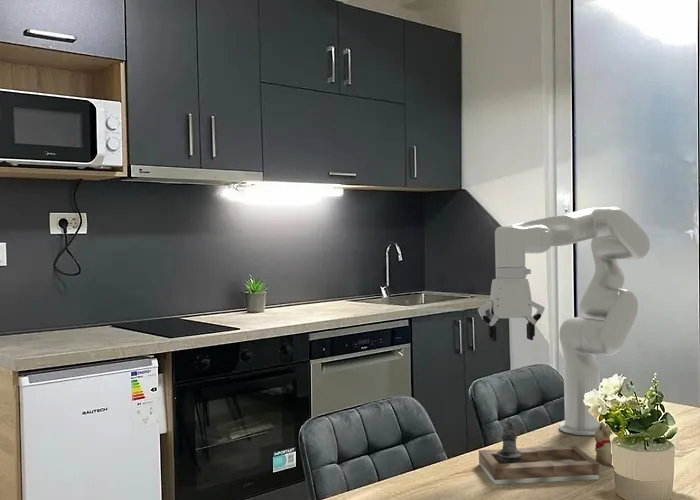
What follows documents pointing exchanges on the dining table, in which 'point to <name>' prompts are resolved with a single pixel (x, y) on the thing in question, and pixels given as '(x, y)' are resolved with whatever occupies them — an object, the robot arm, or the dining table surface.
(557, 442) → the dining table surface
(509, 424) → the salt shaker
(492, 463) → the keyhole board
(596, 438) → the chocolate bunny
